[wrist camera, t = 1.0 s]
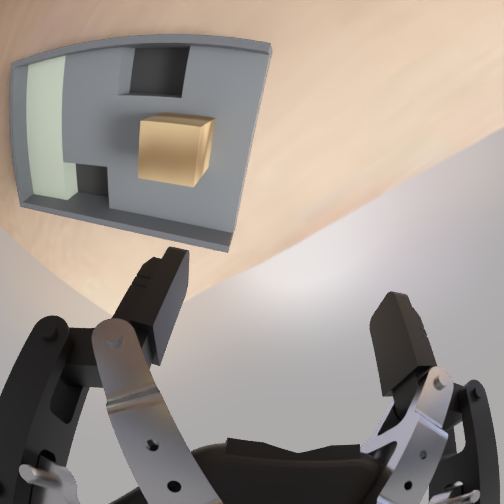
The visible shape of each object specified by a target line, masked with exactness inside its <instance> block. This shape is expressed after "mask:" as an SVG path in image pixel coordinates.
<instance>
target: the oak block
mask: <svg viewBox="0 0 504 504" xmlns="http://www.w3.org/2000/svg"><path fill="white" fill-rule="evenodd" d="M215 120H216V118H212V117H205V116H198V115H189V114H181V113H170V112H163V113H160V114H157V115H155V116H152V117H149V118H146V119H144V120H141V121H140V136H139V157H138V178H140V179H147V180H153V181H159V182H165V183H171V184H177V185H182V186H188V187H193V188H194V186H195V185H196V183H197V182H198V181H199V179H200V178H201V177H202V176H203V174H204V173H205V172H206V170H207V169H208V166H209V159H210V152H211V146H212V139H213V133H214V126H215Z"/></svg>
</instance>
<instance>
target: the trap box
mask: <svg viewBox="0 0 504 504" xmlns="http://www.w3.org/2000/svg"><path fill="white" fill-rule="evenodd" d="M271 54H272V48H271V44H270V43H267V42H261V41H255V40H248V39H241V38H233V37H223V36H211V35H192V34H157V35H138V36H126V37H117V38H109V39H102V40H96V41H90V42H84V43H79V44H74V45H70V46H66V47H61V48H57V49H54V50H50V51H46V52H43V53H39V54H36V55H33V56H30V57H27V58H24V59H21V60H18V61H16V62H13V63H12V66H11V78H10V135H11V148H12V158H13V166H14V173H15V179H16V185H17V191H18V196H19V201H20V206H21V207H24V208H28V209H33V210H37V211H42V212H46V213H50V214H55V215H59V216H64V217H68V218H72V219H77V220H81V221H86V222H90V223H95V224H99V225H104V226H108V227H112V228H117V229H121V230H126V231H131V232H135V233H140V234H144V235H149V236H153V237H158V238H162V239H167V240H171V241H176V242H181V243H185V244H190V245H194V246H199V247H204V248H208V249H213V250H217V251H222V252H227V253H228V251H229V247H230V244H231V240H232V237H233V233H234V230H235V227H236V222H237V217H238V211H239V206H240V201H241V196H242V191H243V186H244V181H245V176H246V171H247V166H248V161H249V156H250V151H251V146H252V141H253V136H254V132H255V127H256V122H257V117H258V113H259V108H260V104H261V99H262V94H263V90H264V85H265V81H266V76H267V72H268V68H269V63H270V59H271ZM163 112H170V113H181V114H189V115H198V116H205V117H212V118H216V120H215V126H214V133H213V139H212V146H211V152H210V159H209V166H208V169H207V170H206V172H205V173H204V174H203V176H202V177H201V178H200V179H199V181H198V182H197V183H196V185H195V186H194V188H193V187H188V186H182V185H177V184H171V183H165V182H159V181H153V180H147V179H140V178H138V157H139V136H140V121H141V120H144V119H146V118H149V117H152V116H155V115H157V114H160V113H163Z"/></svg>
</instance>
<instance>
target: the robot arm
mask: <svg viewBox="0 0 504 504" xmlns="http://www.w3.org/2000/svg"><path fill="white" fill-rule="evenodd" d="M188 276H189V251H188V250H184V249H179V248H175V247H168V249H167V250H166V252H165V254H164V256H163V257H162V259H160V258H156V257H153V258H151V259H150V260H149V261H147V262H146V263H144V264H143V265H142V267H141V269H140V270H139V272H138V274H137V277H135V279H134V280H133V282H132V285H130V287H129V289H128V291H127V292H126V294H125V296H124V297H123V299H122V301H121V303H120V305H119V306H118V308H117V310H116V312H115V314H114V315H113V317H112V318H111V319H108V320H104V321H102V322H101V323H100V324H98V325H97V326H96V327H95V328H69V327H68V325H67V323H66V322H65V320H64V319H62V318H60V317H58V316H47V317H44V318H43V319H41V320H39V321H38V322H37V324H36V325H35V326H34V328H33V330H32V332H31V333H30V335H29V337H28V339H27V340H26V342H25V344H24V346H23V348H22V350H21V352H20V354H19V356H18V358H17V360H16V362H15V364H14V366H13V368H12V370H11V373H10V375H9V377H8V379H7V382H6V384H5V386H4V388H3V391H2V393H1V396H0V504H80V502H79V500H78V497H77V484H76V481H75V479H74V477H73V475H72V474H71V472H70V471H69V470H68V469H67V468H66V464H67V460H68V456H69V452H70V448H71V444H72V441H73V437H74V434H75V430H76V427H77V424H78V420H79V417H80V414H81V411H82V408H83V405H84V402H85V399H86V396H87V393H88V390H89V387H100V388H104V391H105V395H106V398H107V404H106V407H107V411H108V415H109V418H110V421H111V423H112V426H113V429H114V431H115V434H116V437H117V439H118V442H119V444H120V446H121V449H122V451H123V454H124V456H125V458H126V460H127V463H128V465H129V467H130V469H131V471H132V473H133V476H134V478H135V480H136V482H137V483H138V485H139V486H138V487H137V488H136V489H134V490H132V491H131V492H129V493H127V494H125V495H124V496H122V497H120V498H118V499H117V500H115V501H113V502H111V503H110V504H419V503H420V501H421V500H422V498H423V496H424V494H425V492H426V490H427V488H428V486H429V504H500V480H499V465H498V455H497V447H496V440H495V434H494V428H493V423H492V417H491V413H490V408H489V404H488V400H487V396H486V392H485V389H484V388H483V386H482V384H481V383H480V382H479V381H477V380H471V381H469V382H468V383H467V384H466V385H465V386H461V385H459V384H456V383H453V380H452V377H451V376H450V374H449V373H448V372H447V371H446V370H445V369H444V368H442V367H439V366H437V364H436V361H435V358H434V355H433V352H432V349H431V346H430V343H429V340H428V338H427V334H426V331H425V329H424V326H423V323H422V321H421V318H420V316H419V315H418V314H417V312H416V311H415V309H414V308H412V305H411V303H410V300H409V298H408V296H407V295H406V294H402V293H397V292H389V293H387V295H386V296H385V298H384V299H383V301H382V302H381V304H380V305H379V307H378V308H377V310H376V311H375V313H374V314H373V316H372V318H371V321H370V333H371V337H372V342H373V346H374V351H375V356H376V361H377V366H378V371H379V377H380V383H381V389H382V395H383V396H393V398H394V400H393V401H392V402H391V403H390V404H389V406H388V408H387V410H386V411H385V413H384V415H383V417H382V419H381V420H380V422H379V424H378V426H377V427H376V429H375V431H374V432H373V434H372V436H371V437H370V439H369V440H368V441H367V442H366V443H364V444H363V445H362V446H361V447H360V444H357V445H336V446H335V445H334V446H333V445H332V446H327V447H324V448H320V449H316V450H311V451H307V452H303V453H295V452H292V451H288V450H285V449H281V448H278V447H275V446H272V445H269V444H266V443H263V442H254V441H247V440H240V439H233V438H227V440H226V442H225V443H222V444H213V445H208V446H204V447H201V448H198V449H195V450H193V451H191V452H190V450H189V448H188V447H187V445H186V443H185V441H184V439H183V437H182V436H181V434H180V432H179V430H178V428H177V426H176V424H175V422H174V420H173V418H172V416H171V414H170V412H169V410H168V408H167V405H166V403H165V401H164V399H163V397H162V395H161V393H160V391H159V390H158V388H157V386H156V384H155V382H154V380H153V377H152V375H151V372H150V370H149V369H150V366H151V363H152V364H155V365H158V366H160V364H161V361H162V358H163V355H164V353H165V350H166V347H167V344H168V341H169V338H170V335H171V333H172V330H173V327H174V325H175V322H176V319H177V317H178V314H179V311H180V308H181V306H182V303H183V301H184V298H185V295H186V292H187V287H188ZM462 421H463V427H464V433H465V440H466V444H465V447H464V449H463V451H462V452H460V453H458V454H457V451H456V442H455V436H454V435H455V434H454V426H455V425H457V424H458V423H460V422H462Z"/></svg>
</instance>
